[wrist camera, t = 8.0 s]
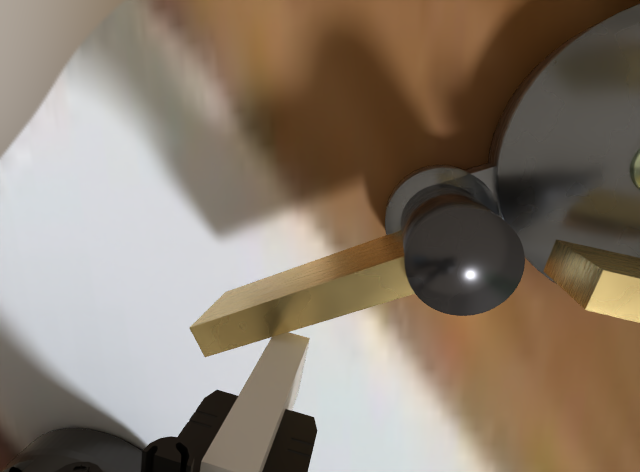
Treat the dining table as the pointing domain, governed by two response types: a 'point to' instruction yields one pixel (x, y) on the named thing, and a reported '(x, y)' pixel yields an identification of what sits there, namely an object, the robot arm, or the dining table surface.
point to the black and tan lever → (381, 274)
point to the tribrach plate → (562, 149)
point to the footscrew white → (597, 278)
